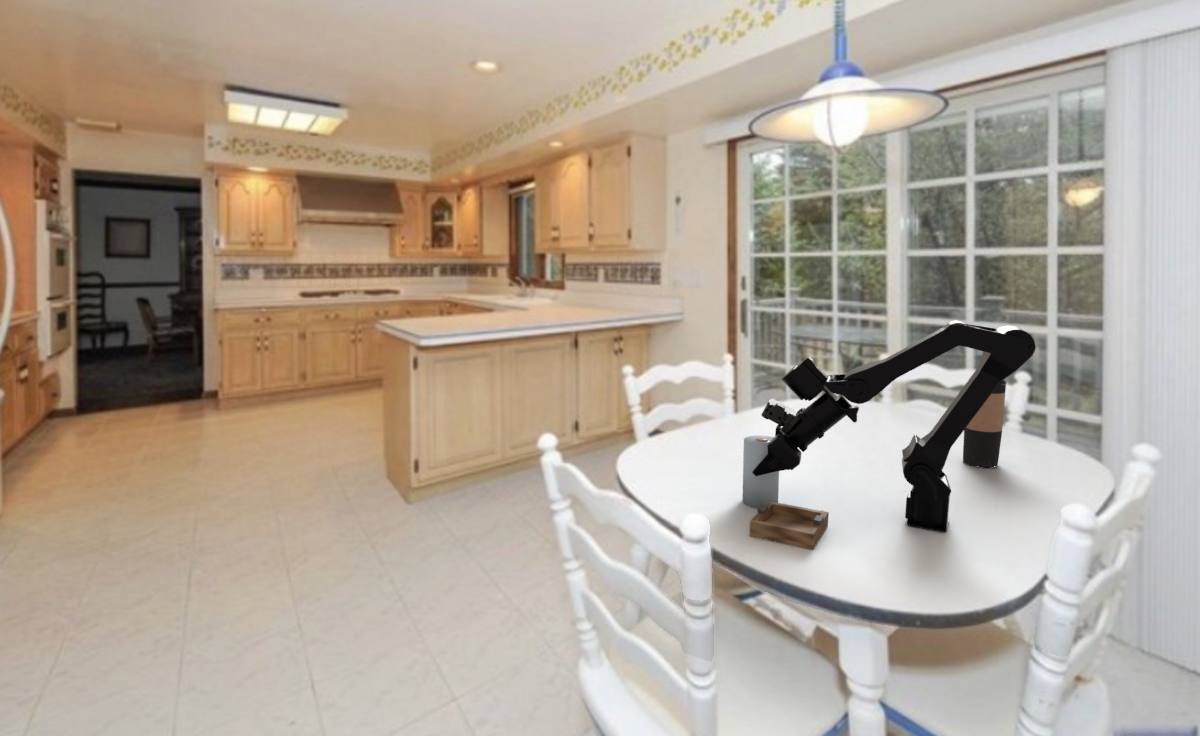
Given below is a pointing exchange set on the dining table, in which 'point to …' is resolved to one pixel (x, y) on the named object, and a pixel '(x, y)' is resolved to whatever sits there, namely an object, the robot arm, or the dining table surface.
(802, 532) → the square wooden tray
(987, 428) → the travel mug
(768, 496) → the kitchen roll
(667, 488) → the dining table surface
